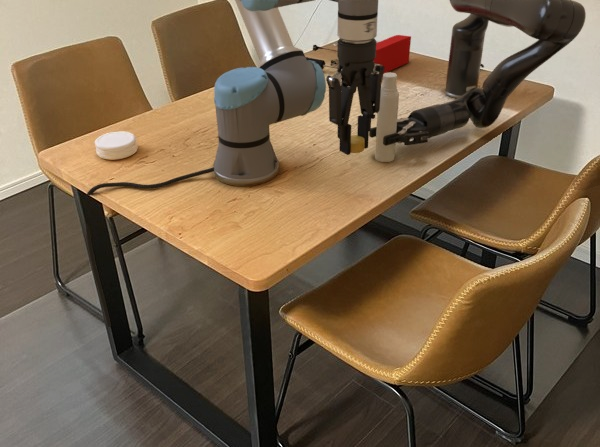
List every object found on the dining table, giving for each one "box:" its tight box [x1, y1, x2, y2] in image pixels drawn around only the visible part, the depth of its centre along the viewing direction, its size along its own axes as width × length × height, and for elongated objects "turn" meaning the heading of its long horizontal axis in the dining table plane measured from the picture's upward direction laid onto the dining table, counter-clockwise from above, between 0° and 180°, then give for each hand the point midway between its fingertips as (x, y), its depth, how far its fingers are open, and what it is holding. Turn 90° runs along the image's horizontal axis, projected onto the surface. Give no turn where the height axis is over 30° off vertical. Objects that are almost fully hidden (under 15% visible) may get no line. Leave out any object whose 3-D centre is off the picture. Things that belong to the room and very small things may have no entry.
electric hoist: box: [305, 34, 412, 74], centre depth 208 cm, size 10×27×30 cm
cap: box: [350, 134, 366, 154], centre depth 131 cm, size 4×4×2 cm
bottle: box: [374, 72, 400, 163], centre depth 145 cm, size 5×5×21 cm
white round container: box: [94, 130, 139, 161], centre depth 154 cm, size 10×10×4 cm
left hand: (353, 149), depth 132 cm, fingers closed on cap, 4 cm apart
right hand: (377, 137), depth 146 cm, fingers closed on bottle, 4 cm apart
